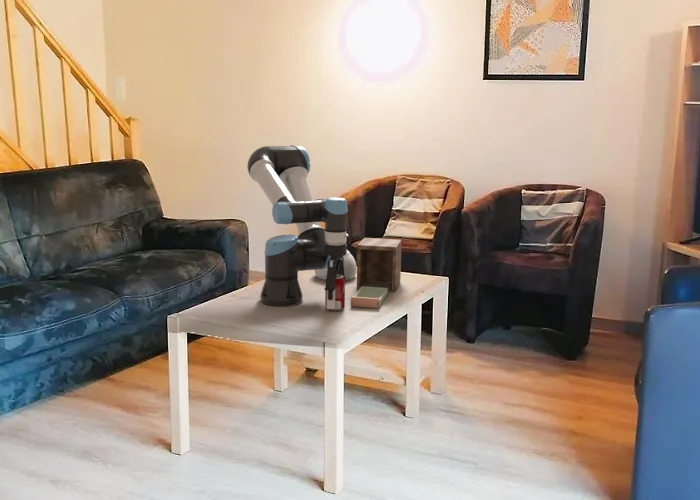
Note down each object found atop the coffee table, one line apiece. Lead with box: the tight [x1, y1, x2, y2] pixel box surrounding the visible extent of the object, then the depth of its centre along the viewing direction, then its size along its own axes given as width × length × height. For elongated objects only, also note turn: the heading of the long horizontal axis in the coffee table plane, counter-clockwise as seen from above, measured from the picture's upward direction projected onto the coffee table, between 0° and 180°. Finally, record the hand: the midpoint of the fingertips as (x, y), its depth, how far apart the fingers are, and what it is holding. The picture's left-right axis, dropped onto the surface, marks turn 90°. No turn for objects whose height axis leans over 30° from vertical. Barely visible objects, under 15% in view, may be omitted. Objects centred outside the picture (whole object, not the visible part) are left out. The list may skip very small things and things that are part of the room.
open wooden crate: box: [356, 237, 403, 293], centre depth 304 cm, size 15×15×18 cm
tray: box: [350, 285, 388, 309], centre depth 285 cm, size 10×20×3 cm, turn 169°
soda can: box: [324, 274, 346, 312], centre depth 272 cm, size 7×7×12 cm
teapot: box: [314, 249, 357, 282], centre depth 319 cm, size 19×18×14 cm
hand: (334, 303), depth 273 cm, fingers open, 13 cm apart
